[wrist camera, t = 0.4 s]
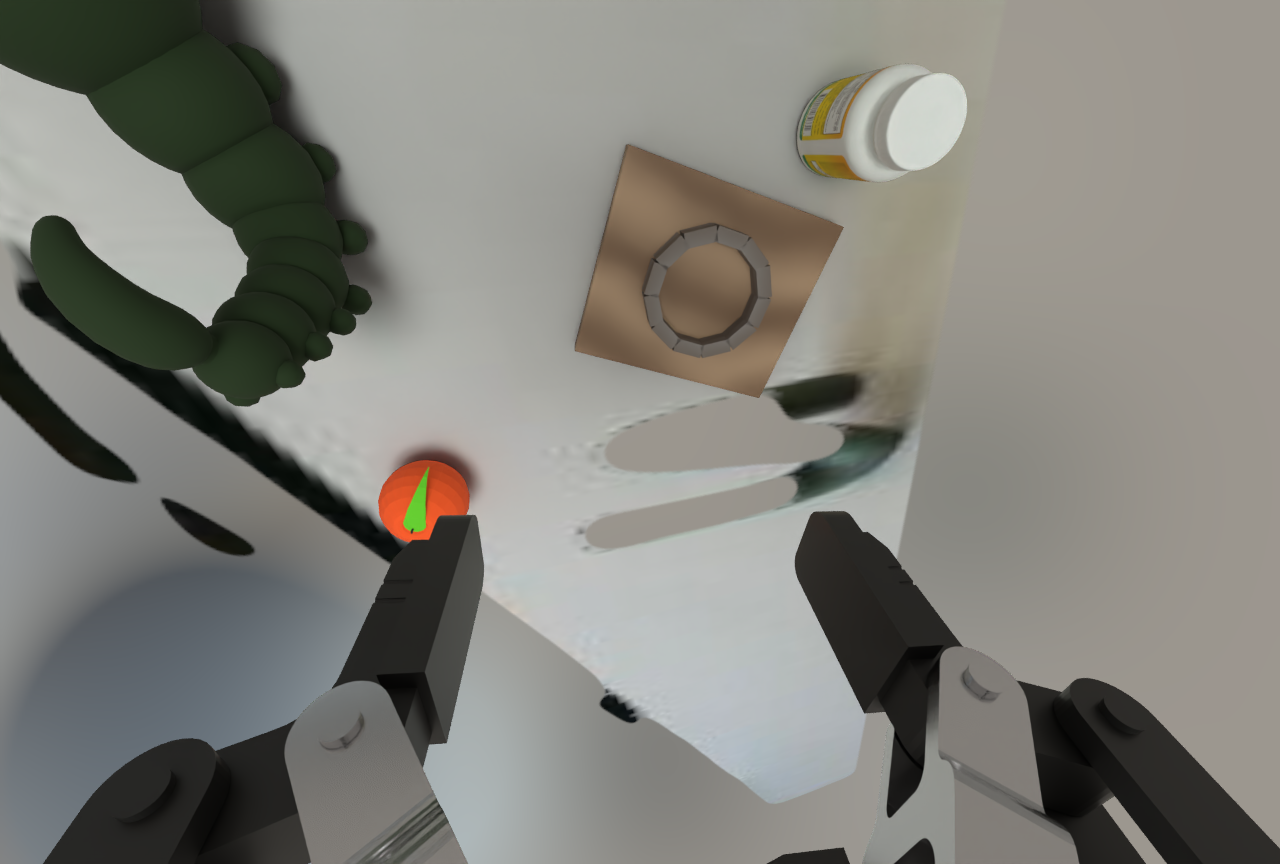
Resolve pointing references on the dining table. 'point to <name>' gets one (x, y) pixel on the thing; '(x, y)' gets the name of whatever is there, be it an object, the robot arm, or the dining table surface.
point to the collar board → (699, 276)
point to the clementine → (421, 498)
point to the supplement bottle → (882, 123)
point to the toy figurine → (194, 192)
